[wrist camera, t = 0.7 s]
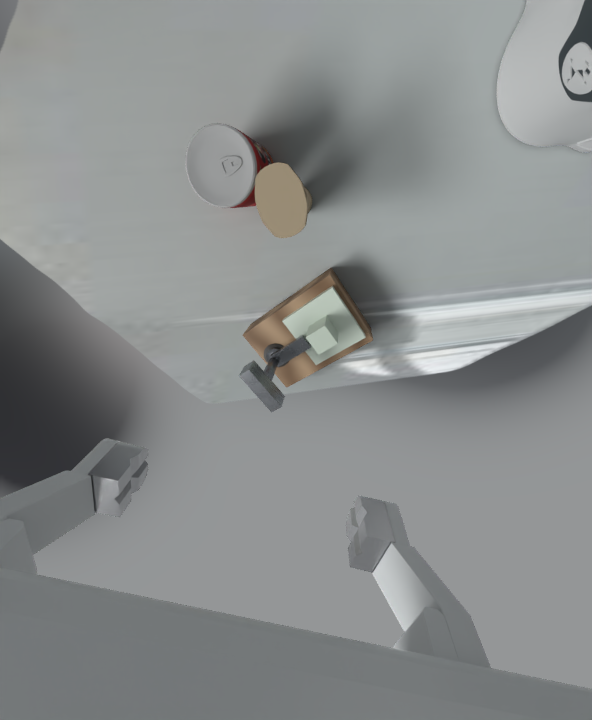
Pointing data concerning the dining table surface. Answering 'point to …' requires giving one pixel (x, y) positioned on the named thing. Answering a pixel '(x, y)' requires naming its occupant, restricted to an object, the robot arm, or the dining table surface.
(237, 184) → the canned food
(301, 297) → the case
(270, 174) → the handle
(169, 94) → the dining table surface
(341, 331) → the lid
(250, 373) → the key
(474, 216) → the dining table surface
